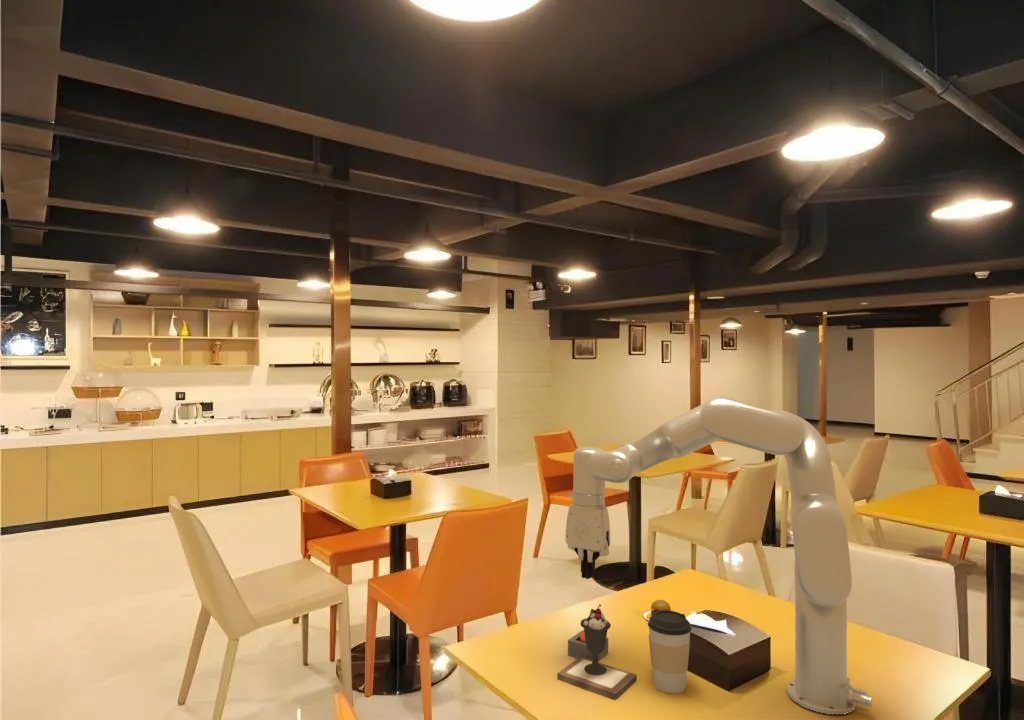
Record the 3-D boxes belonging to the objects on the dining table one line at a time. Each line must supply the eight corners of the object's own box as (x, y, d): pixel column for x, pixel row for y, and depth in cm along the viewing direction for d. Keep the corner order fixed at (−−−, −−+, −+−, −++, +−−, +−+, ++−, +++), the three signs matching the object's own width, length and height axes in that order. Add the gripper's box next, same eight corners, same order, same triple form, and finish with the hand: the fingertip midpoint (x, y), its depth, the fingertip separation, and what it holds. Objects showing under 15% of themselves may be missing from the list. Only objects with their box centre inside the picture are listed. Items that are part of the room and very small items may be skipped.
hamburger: (632, 612, 171) (632, 592, 171) (674, 611, 172) (674, 592, 172) (644, 630, 159) (645, 609, 160) (689, 629, 160) (689, 608, 160)
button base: (608, 652, 145) (608, 637, 145) (594, 663, 140) (594, 648, 140) (582, 644, 149) (582, 630, 150) (567, 655, 144) (567, 640, 144)
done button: (599, 642, 145) (599, 634, 145) (591, 648, 142) (591, 639, 142) (585, 638, 147) (585, 629, 147) (577, 643, 144) (577, 635, 144)
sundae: (601, 680, 129) (602, 609, 130) (574, 670, 133) (575, 602, 134) (616, 668, 135) (616, 600, 135) (589, 659, 139) (590, 593, 139)
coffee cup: (649, 694, 127) (649, 621, 127) (645, 673, 136) (646, 605, 136) (694, 697, 125) (694, 624, 126) (687, 676, 134) (687, 607, 135)
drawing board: (636, 680, 132) (636, 673, 132) (615, 700, 124) (615, 693, 124) (580, 661, 141) (580, 655, 141) (557, 678, 133) (557, 672, 133)
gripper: (553, 497, 147) (552, 574, 146) (609, 507, 138) (608, 588, 138) (570, 493, 153) (568, 566, 152) (624, 501, 144) (623, 579, 144)
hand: (587, 576), depth 145 cm, fingers closed
